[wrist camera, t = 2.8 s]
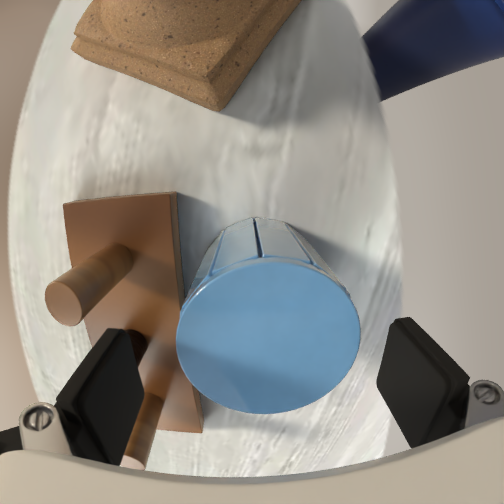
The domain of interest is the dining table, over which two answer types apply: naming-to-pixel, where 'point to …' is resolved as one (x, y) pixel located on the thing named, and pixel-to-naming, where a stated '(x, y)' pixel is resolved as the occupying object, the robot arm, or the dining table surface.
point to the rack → (132, 301)
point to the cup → (266, 321)
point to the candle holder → (182, 42)
